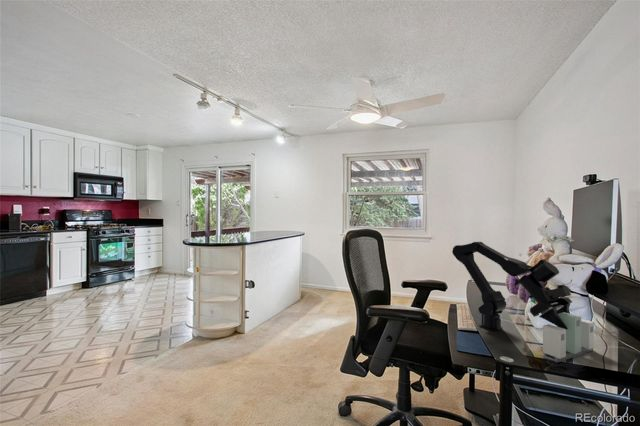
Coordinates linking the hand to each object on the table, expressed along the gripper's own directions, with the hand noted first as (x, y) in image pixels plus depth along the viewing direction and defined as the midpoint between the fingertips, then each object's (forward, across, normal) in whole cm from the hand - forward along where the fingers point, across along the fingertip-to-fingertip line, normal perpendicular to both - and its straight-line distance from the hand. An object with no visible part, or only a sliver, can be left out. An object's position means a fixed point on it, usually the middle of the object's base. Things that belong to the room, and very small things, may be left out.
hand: (570, 328), depth 104 cm
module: (+5, 0, +6) cm, 8 cm away
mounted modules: (+5, 0, +6) cm, 8 cm away
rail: (+6, 0, +7) cm, 9 cm away
